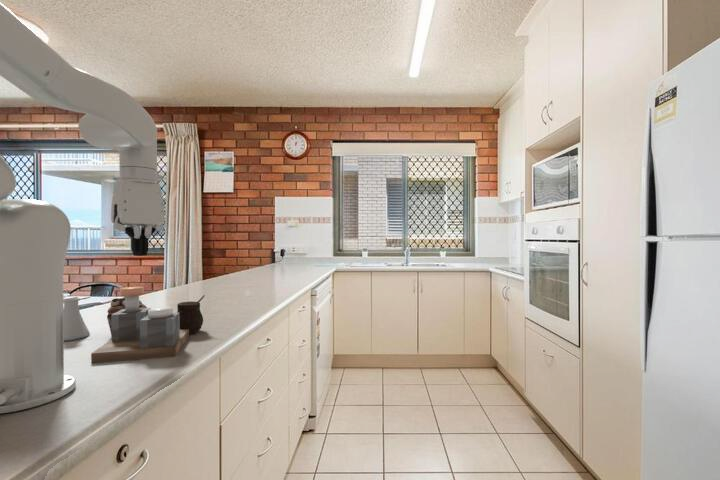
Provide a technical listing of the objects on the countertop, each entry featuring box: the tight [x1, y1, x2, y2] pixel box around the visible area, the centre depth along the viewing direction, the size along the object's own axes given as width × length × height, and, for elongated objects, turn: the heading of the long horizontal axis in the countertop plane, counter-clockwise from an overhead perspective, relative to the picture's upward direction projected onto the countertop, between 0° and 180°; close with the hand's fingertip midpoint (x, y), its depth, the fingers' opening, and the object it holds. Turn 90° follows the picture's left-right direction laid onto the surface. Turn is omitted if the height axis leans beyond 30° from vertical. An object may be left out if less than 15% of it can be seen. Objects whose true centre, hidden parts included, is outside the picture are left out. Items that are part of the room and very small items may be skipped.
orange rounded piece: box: [119, 286, 145, 313], centre depth 85 cm, size 5×5×6 cm
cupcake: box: [106, 296, 148, 337], centre depth 95 cm, size 10×10×10 cm
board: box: [90, 307, 190, 364], centre depth 82 cm, size 16×16×8 cm
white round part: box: [148, 306, 174, 318], centre depth 80 cm, size 5×5×6 cm
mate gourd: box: [176, 295, 206, 335], centre depth 96 cm, size 7×8×10 cm
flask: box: [63, 297, 91, 342], centre depth 91 cm, size 7×7×10 cm
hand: (140, 255), depth 84 cm, fingers closed
